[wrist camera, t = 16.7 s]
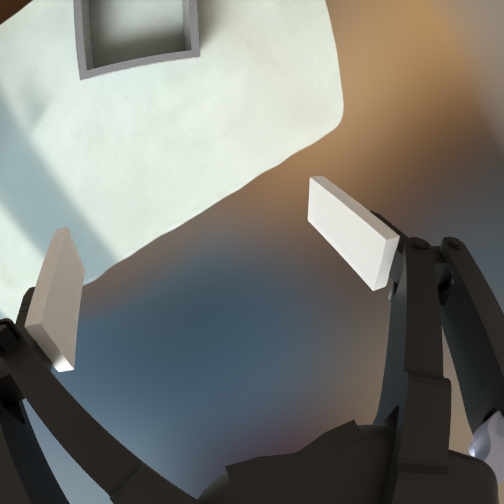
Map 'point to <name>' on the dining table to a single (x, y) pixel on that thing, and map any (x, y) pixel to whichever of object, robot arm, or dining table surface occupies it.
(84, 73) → the box
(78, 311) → the robot arm
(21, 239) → the dining table surface
